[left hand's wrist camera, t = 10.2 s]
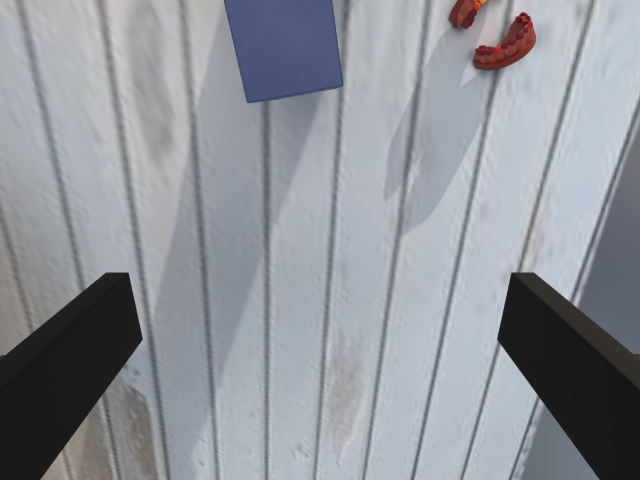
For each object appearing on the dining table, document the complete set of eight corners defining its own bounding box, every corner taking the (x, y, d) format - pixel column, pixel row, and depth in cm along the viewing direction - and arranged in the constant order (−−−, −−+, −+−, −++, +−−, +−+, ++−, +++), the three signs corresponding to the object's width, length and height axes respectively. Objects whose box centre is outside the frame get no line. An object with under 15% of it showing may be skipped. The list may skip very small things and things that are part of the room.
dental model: (514, -52, 30) (555, 35, 32) (493, -37, 34) (531, 40, 36) (454, -2, 31) (497, 78, 34) (440, 7, 35) (480, 78, 38)
